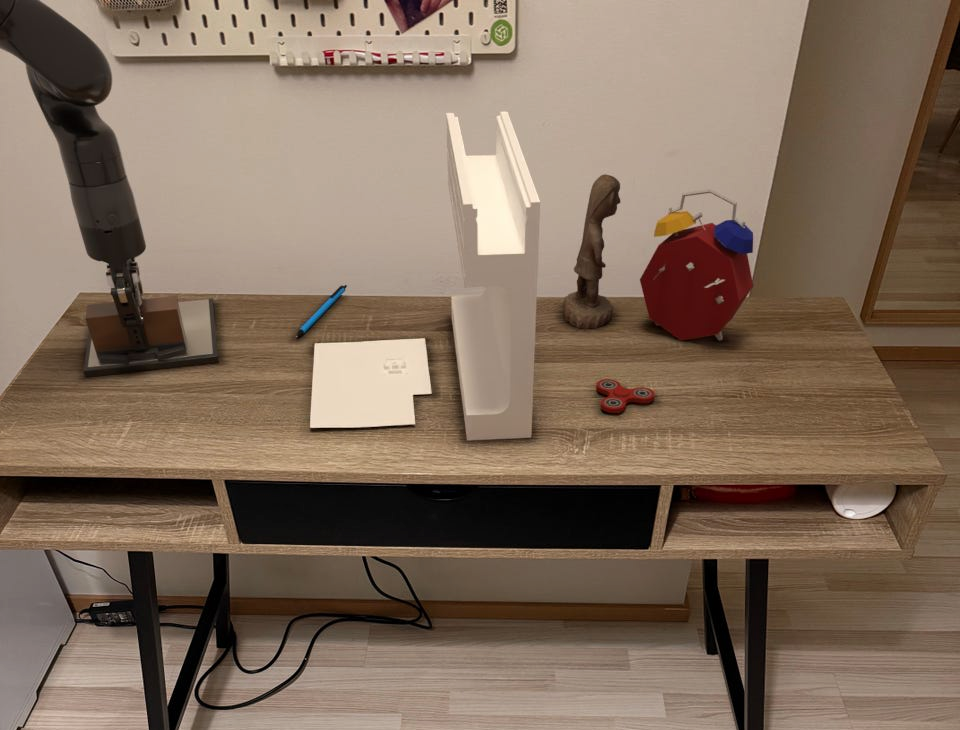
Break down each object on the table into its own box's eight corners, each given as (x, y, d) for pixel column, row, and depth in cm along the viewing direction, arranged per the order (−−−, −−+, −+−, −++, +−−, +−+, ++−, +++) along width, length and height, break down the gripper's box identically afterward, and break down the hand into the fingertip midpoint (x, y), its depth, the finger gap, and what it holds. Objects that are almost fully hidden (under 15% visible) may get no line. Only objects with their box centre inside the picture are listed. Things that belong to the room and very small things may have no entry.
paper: (306, 344, 135) (305, 337, 134) (424, 336, 137) (424, 329, 136) (310, 434, 117) (309, 426, 116) (445, 423, 119) (445, 415, 118)
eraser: (98, 359, 129) (85, 318, 125) (99, 345, 133) (87, 304, 128) (186, 350, 132) (177, 308, 127) (186, 336, 135) (176, 295, 130)
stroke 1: (100, 363, 129) (98, 357, 128) (103, 359, 130) (101, 353, 129) (128, 364, 128) (126, 358, 128) (131, 360, 129) (129, 354, 129)
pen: (348, 289, 150) (348, 282, 149) (299, 340, 136) (298, 333, 136) (343, 288, 150) (342, 281, 149) (293, 339, 137) (292, 332, 136)
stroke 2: (129, 360, 129) (128, 354, 129) (129, 356, 130) (128, 350, 130) (159, 356, 130) (157, 351, 129) (159, 353, 131) (157, 347, 130)
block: (531, 437, 116) (540, 202, 97) (466, 440, 116) (463, 204, 97) (504, 316, 142) (507, 111, 123) (451, 318, 141) (446, 113, 122)
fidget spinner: (610, 417, 120) (611, 408, 119) (576, 393, 124) (577, 385, 124) (658, 401, 123) (660, 392, 122) (624, 378, 128) (625, 369, 127)
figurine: (622, 323, 140) (637, 181, 127) (578, 332, 138) (588, 189, 124) (593, 300, 146) (605, 162, 133) (550, 308, 144) (557, 169, 130)
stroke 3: (158, 361, 129) (157, 355, 129) (155, 357, 130) (154, 352, 129) (186, 353, 131) (185, 348, 130) (183, 350, 131) (182, 345, 131)
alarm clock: (743, 335, 137) (772, 191, 123) (723, 359, 132) (751, 211, 118) (650, 313, 143) (667, 173, 129) (627, 335, 137) (642, 191, 123)
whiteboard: (85, 377, 128) (82, 369, 127) (93, 316, 142) (91, 309, 142) (218, 362, 131) (217, 354, 130) (213, 304, 145) (212, 297, 145)
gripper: (80, 199, 124) (115, 322, 136) (73, 238, 114) (111, 368, 126) (138, 194, 125) (168, 317, 137) (136, 232, 115) (169, 361, 127)
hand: (141, 340), depth 131 cm, fingers closed on eraser, 4 cm apart
